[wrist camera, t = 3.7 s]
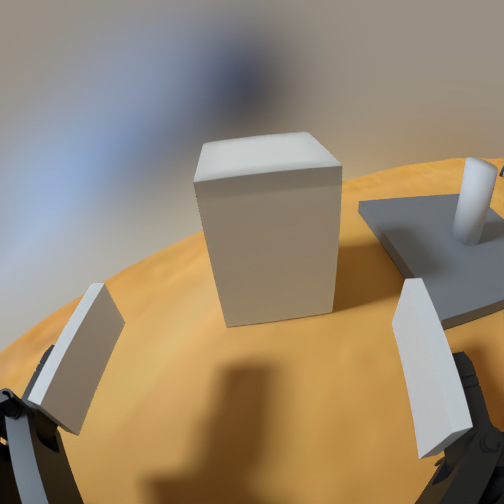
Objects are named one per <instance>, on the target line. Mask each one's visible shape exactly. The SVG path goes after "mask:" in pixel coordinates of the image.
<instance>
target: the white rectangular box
mask: <svg viewBox="0 0 504 504" xmlns="http://www.w3.org/2000/svg"><path fill="white" fill-rule="evenodd" d="M193 183H194V188H195V193H196V198H197V202H198V207H199V212H200V217H201V221H202V226H203V231H204V235H205V240H206V244H207V249H208V253H209V257H210V262H211V266H212V270H213V275H214V279H215V283H216V287H217V291H218V296H219V300H220V304H221V308H222V312H223V316H224V320H225V324H226V327H232V326H241V325H250V324H258V323H266V322H273V321H280V320H287V319H294V318H301V317H308V316H314V315H320V314H326V313H332V310H333V301H334V292H335V282H336V271H337V260H338V247H339V232H340V215H341V193H342V165H341V164H340V163H339V162H338V161H337V160H336V159H335V158H334V157H333V156H332V155H331V154H330V153H329V152H328V151H327V150H326V149H325V148H324V147H323V146H322V145H321V144H320V143H319V142H318V141H317V140H316V139H314V137H312V136H311V135H310V134H309V133H308V132H296V133H283V134H273V135H263V136H253V137H245V138H237V139H229V140H222V141H215V142H209V143H204V144H203V148H202V152H201V155H200V159H199V163H198V166H197V170H196V174H195V178H194V182H193Z"/></svg>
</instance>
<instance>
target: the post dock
mask: <svg viewBox="0 0 504 504" xmlns="http://www.w3.org/2000/svg"><path fill="white" fill-rule="evenodd" d="M497 171H498V169H497V167H495V166H494V165H493V164H491V163H489V162H487V161H485V160H482V159H478V158H473V157H468V158H466V163H465V169H464V175H463V180H462V186H461V191H460V194H450V195H434V196H419V197H405V198H392V199H380V200H369V201H359V209H358V212H359V213H360V215H361V216H362V217H363V219H364V220H365V222H366V223H367V224H368V226H369V227H370V228H371V230H372V231H373V233H374V234H375V235H376V237H377V238H378V240H379V241H380V243H381V244H382V245H383V247H384V248H385V250H386V251H387V253H388V254H389V256H390V257H391V259H392V260H393V262H394V263H395V265H396V266H397V268H398V269H399V271H400V272H401V274H402V275H403V277H404V278H405V279H414V278H422V280H423V283H424V285H425V287H426V289H427V292H428V294H429V296H430V299H431V301H432V303H433V306H434V308H435V311H436V313H437V315H438V318H439V321H440V323H441V326H442V328H443V330H444V329H448V328H451V327H454V326H457V325H460V324H463V323H466V322H469V321H472V320H475V319H477V318H480V317H483V316H486V315H488V314H491V313H494V312H496V311H499V310H502V309H504V219H503V218H501V217H500V216H499V215H498V214H497V213H496V212H495V211H493V210H492V209H491V208H490V207H489V206H490V202H491V198H492V194H493V190H494V185H495V181H496V176H497Z"/></svg>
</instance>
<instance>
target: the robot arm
mask: <svg viewBox="0 0 504 504" xmlns="http://www.w3.org/2000/svg"><path fill="white" fill-rule="evenodd" d="M124 325H125V322H124V320H123V318H122V316H121V314H120V312H119V310H118V309H117V307H116V305H115V303H114V301H113V299H112V297H111V295H110V293H109V291H108V289H107V287H106V285H105V283H92V284H91V286H90V287H89V289H88V290H87V292H86V294H85V295H84V297H83V298H82V300H81V302H80V303H79V305H78V306H77V308H76V310H75V311H74V313H73V315H72V316H71V318H70V320H69V321H68V323H67V325H66V327H65V328H64V330H63V332H62V334H61V335H60V337H59V339H58V341H57V343H56V344H55V345H52V346H51V347H50V348H49V349H48V350H47V351H46V352H45V353H44V355H43V357H42V359H41V360H40V364H38V366H37V368H36V371H35V372H34V374H33V376H32V378H31V380H30V382H29V384H28V386H27V388H26V390H25V392H24V394H23V396H22V398H21V399H20V398H19V397H17V396H16V395H15V394H14V393H13V392H12V391H11V390H10V389H7V388H4V389H1V390H0V437H2V438H3V439H5V440H6V444H5V445H4V444H2V443H1V442H0V504H84V503H83V500H82V498H81V495H80V493H79V490H78V488H77V485H76V482H75V480H74V477H73V474H72V471H71V468H70V465H69V462H68V459H67V456H66V453H65V449H64V446H63V443H62V439H61V435H60V433H59V431H58V430H57V427H58V426H60V427H61V428H62V429H64V430H65V431H67V432H69V433H72V434H75V435H77V436H79V433H80V431H81V428H82V425H83V422H84V420H85V417H86V414H87V412H88V409H89V407H90V404H91V401H92V399H93V396H94V394H95V391H96V389H97V386H98V384H99V382H100V379H101V377H102V374H103V372H104V370H105V367H106V365H107V363H108V360H109V358H110V356H111V353H112V351H113V349H114V347H115V344H116V342H117V340H118V338H119V336H120V333H121V331H122V329H123V327H124ZM392 327H393V330H394V334H395V338H396V342H397V346H398V350H399V354H400V358H401V362H402V366H403V371H404V375H405V380H406V384H407V389H408V394H409V399H410V405H411V410H412V416H413V421H414V427H415V434H416V440H417V447H418V455H419V459H422V458H426V457H430V456H435V455H438V454H439V453H440V452H442V451H443V450H444V453H445V456H444V457H443V458H441V459H440V460H438V461H437V462H436V464H435V466H438V465H439V464H440V465H439V467H438V468H437V470H436V472H435V473H434V475H433V477H432V478H431V480H430V481H429V483H428V485H427V486H426V488H425V489H424V491H423V492H422V494H421V495H420V497H419V498H418V500H417V501H416V502H415V504H504V432H500V430H499V429H497V428H496V427H494V426H493V425H492V423H491V421H490V419H489V415H488V412H487V408H486V405H485V401H484V398H483V394H482V391H481V388H480V386H479V382H478V379H477V376H476V373H475V370H474V367H473V364H472V361H471V360H470V359H469V358H468V356H467V355H466V354H465V353H464V352H458V353H453V354H452V353H451V350H450V347H449V344H448V342H447V339H446V336H445V334H444V331H443V328H442V326H441V323H440V321H439V318H438V315H437V313H436V311H435V308H434V306H433V303H432V301H431V299H430V296H429V294H428V292H427V289H426V287H425V285H424V283H423V280H422V278H414V279H405V282H404V285H403V289H402V292H401V296H400V299H399V302H398V306H397V309H396V312H395V315H394V318H393V321H392Z"/></svg>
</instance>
